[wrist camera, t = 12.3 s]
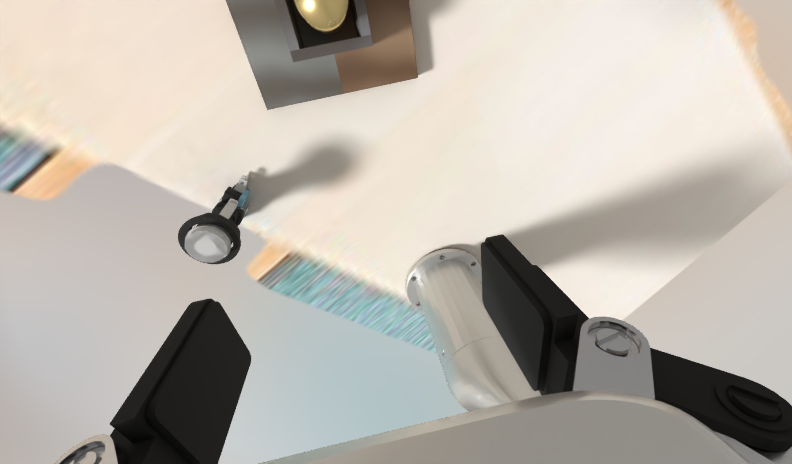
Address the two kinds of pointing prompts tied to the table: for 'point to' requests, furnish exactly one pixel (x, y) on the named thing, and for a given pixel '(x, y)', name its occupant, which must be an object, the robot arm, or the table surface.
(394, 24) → the base with square socket
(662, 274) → the table surface
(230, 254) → the push button
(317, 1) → the hinge pin
